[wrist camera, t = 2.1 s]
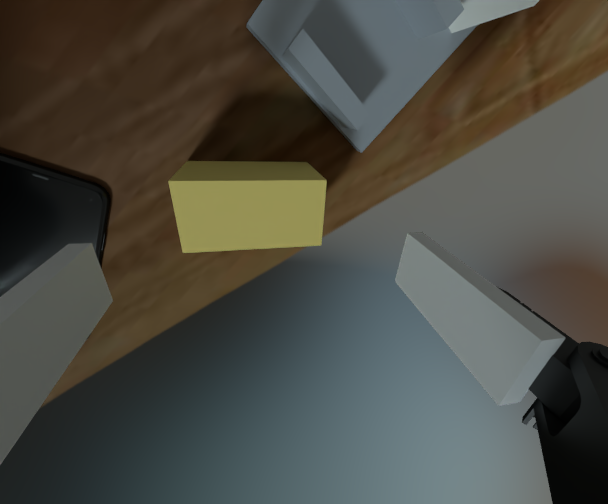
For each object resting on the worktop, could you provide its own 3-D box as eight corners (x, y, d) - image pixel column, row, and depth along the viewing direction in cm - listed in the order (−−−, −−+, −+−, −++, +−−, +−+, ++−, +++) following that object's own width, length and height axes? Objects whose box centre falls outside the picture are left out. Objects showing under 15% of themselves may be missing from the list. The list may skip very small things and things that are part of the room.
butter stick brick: (196, 217, 22) (182, 252, 17) (187, 160, 20) (168, 181, 15) (304, 214, 24) (321, 245, 18) (306, 161, 21) (326, 180, 16)
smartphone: (91, 339, 26) (115, 186, 20) (86, 346, 25) (109, 190, 19) (-17, 324, 23) (-27, 141, 17) (-25, 331, 22) (-40, 143, 16)
